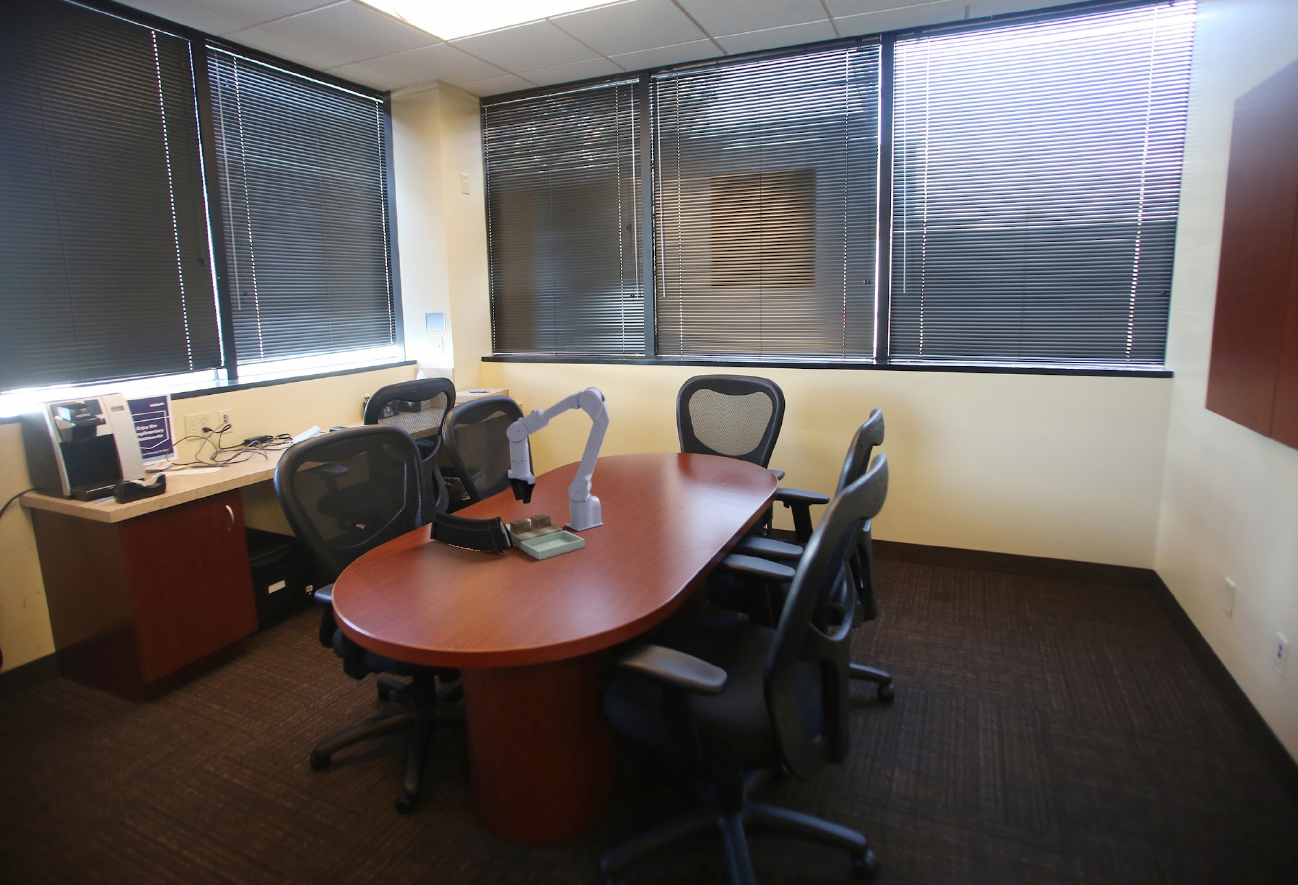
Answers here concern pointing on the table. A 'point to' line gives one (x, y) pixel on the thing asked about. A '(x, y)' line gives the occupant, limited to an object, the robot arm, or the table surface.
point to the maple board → (533, 533)
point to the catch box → (552, 545)
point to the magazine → (471, 532)
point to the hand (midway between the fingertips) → (523, 501)
